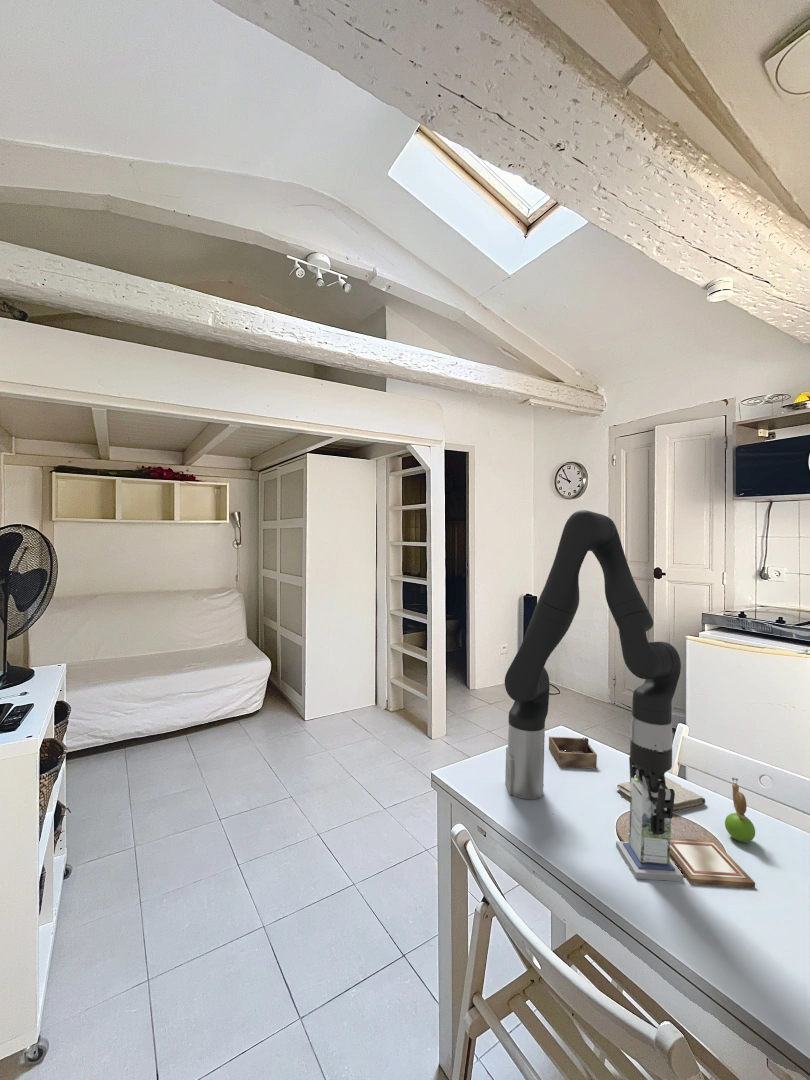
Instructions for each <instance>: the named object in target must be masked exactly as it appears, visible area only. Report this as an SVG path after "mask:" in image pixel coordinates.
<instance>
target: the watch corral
mask: <svg viewBox="0 0 810 1080" xmlns="http://www.w3.org/2000/svg"><path fill="white" fill-rule="evenodd" d="M584 740H585V737H570V736H569V737H565V736H562V737H561V736H548V751H549V750H550V751H549V752H550V754H551V755H552V758H553V757H554V758H553V760H554V761H555V762H557V763H556V764H557V766H558V767H560V766H565V767H564V768H582V769H597V765H598V764H597V761H598V755H597V753H596V752H595V750H594V749H593V748H592V746H591V745H590V743H588V750H587V753H583V752H582V749H583V744H584ZM560 750H566V751H573V752H564V751H560ZM577 751H580V752H577ZM574 752H576V753H574Z"/></svg>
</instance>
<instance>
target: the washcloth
mask: <svg viewBox="0 0 810 1080" xmlns="http://www.w3.org/2000/svg"><path fill="white" fill-rule="evenodd" d="M665 781H666V786H667V788H668V789H673V790H674V792H675V797H674V806H673V814H674V813H678V812H682V811H688V810H691V809H696V808H701V807H703V806H704V805H706V798H705V797H703V796H701V795H699V794H698V793H696V792H694V791H693V790H689V789H688V788H685V787H683V786H682V785H680V784H679V783H677V782H676V781H674V780H672V779H671V778H669V777H667V776H665ZM617 788H618V789H617V790H616V793H618V794H620V795H621V796H622V797H623V798H624V799H625V800H627V801H628V802H629V803H630V797H631V784H630V781H629V782H620V783H618V784H617Z"/></svg>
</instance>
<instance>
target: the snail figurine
mask: <svg viewBox="0 0 810 1080" xmlns="http://www.w3.org/2000/svg"><path fill="white" fill-rule="evenodd" d="M731 780H732V781H736V782H735V783H734V782H732V784H731V788H732V801H733V808H734V811H735V812H733V813H732V812H731V813H730V814H727V816H726V817H725V819H724V827H725V829H726V831H727V833H728V834H729V836H731V837H732V838H733V839H735V840H736V841H738V842H741V843H742V842H743V843H748V842H751V841H753V839H754V838H755V836H756V827H755V824H753V822H752V821H751V819H749V818H748V817H747V816H746V815H745V813H746V812H747V806H748V805H747V804H748V803H747V800H746V797H745V795H744V794H743V793H742V792H740V791H739V790H740V786H739V784H738V781H739V779H738V777H736V778H735V777H731Z"/></svg>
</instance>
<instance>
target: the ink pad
mask: <svg viewBox="0 0 810 1080" xmlns="http://www.w3.org/2000/svg"><path fill="white" fill-rule="evenodd" d="M615 847H616V848H617V851H618V852H619V854H620V855H621V858H623V860H624V863H625V864H626V865H627V867H628V869H629V871H630V872H631V873H632V875H633V876H634V879H640V880H641V879H642V880H654V881H656V880H657V881H668V882H669V881H671V882H684V875H683V874H682V873H681V871H680V870H679V869H678V867H677V866H676V865H675V863H674V862H673V861H672V859H671V858H670V864H669V865H664V864H652V863H641V862H640V861H639V859H638V857H637V856H636V854H635V853H634V851H633V849H632V848H631V846H630V844H629V841H621V840H620V841H618V840H616V841H615Z"/></svg>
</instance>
